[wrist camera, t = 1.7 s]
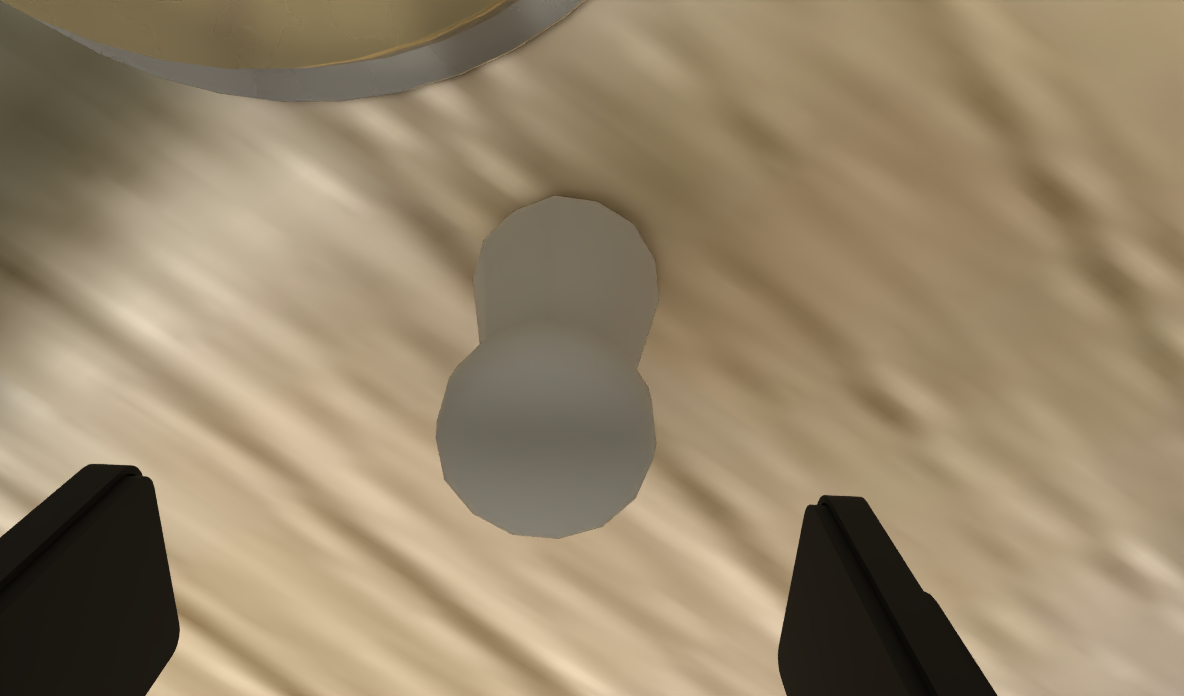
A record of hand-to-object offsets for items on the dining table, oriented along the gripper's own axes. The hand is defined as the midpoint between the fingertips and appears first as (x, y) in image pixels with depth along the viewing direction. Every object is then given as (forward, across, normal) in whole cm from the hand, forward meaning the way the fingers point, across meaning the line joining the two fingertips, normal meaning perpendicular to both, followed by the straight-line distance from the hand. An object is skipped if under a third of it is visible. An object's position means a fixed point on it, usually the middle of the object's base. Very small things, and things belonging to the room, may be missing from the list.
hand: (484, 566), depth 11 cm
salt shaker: (+16, -1, 0) cm, 16 cm away
